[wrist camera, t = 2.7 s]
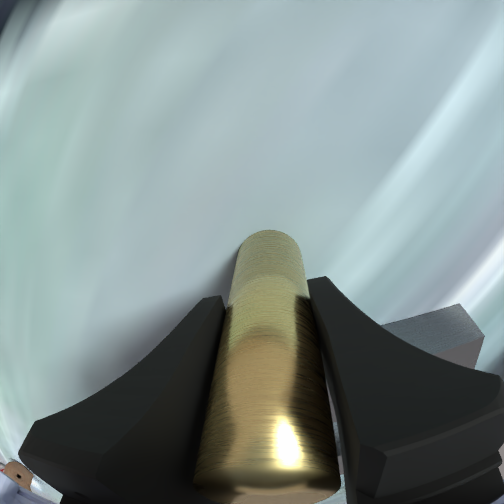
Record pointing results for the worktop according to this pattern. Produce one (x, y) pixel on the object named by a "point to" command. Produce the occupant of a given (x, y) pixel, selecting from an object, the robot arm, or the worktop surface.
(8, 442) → the worktop surface
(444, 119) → the worktop surface
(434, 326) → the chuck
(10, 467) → the oil lamp
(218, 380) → the cylinder
